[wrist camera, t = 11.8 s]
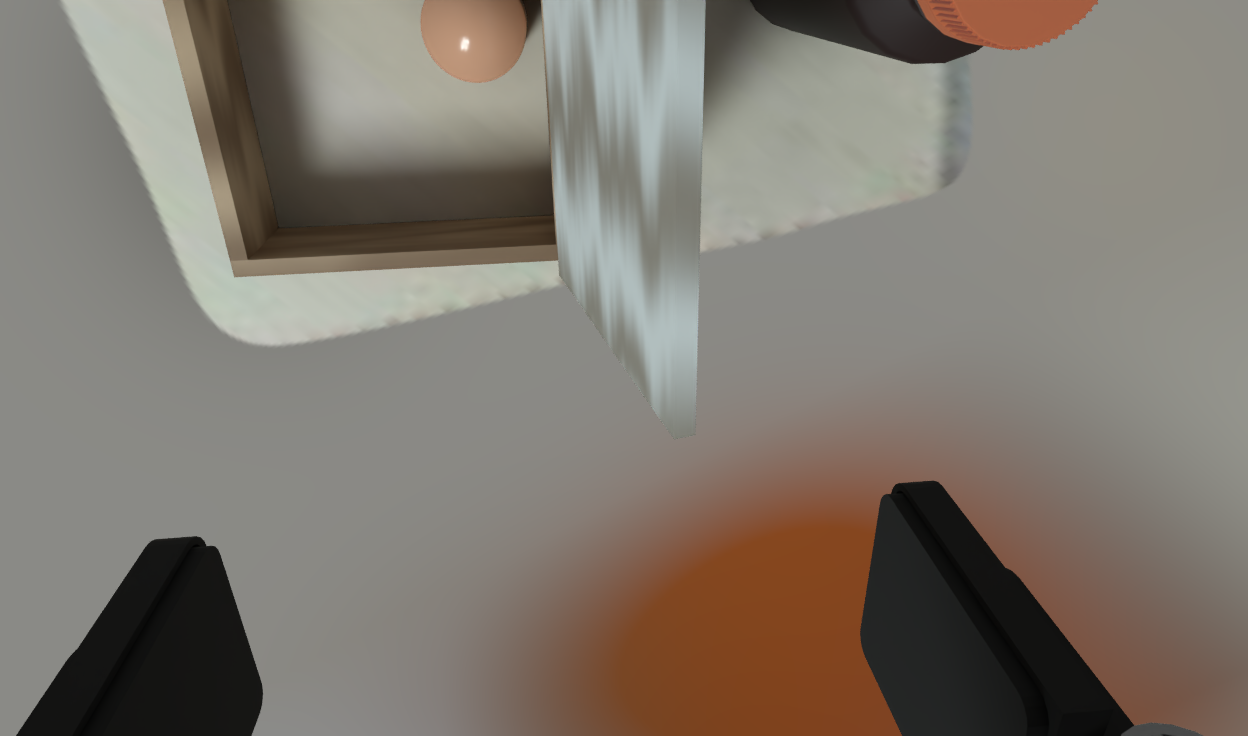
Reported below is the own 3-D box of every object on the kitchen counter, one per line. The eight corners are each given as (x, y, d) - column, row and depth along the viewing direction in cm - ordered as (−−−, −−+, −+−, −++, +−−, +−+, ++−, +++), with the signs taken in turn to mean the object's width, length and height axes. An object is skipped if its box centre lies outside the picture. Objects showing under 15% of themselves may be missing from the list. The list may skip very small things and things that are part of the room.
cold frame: (195, -58, 36) (-207, -78, 16) (620, -66, 37) (709, -94, 18) (266, 243, 42) (36, 483, 23) (626, 226, 44) (696, 437, 24)
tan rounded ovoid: (428, -30, 37) (413, -29, 33) (523, -33, 37) (521, -32, 33) (440, 70, 39) (428, 84, 35) (530, 67, 39) (530, 80, 35)
